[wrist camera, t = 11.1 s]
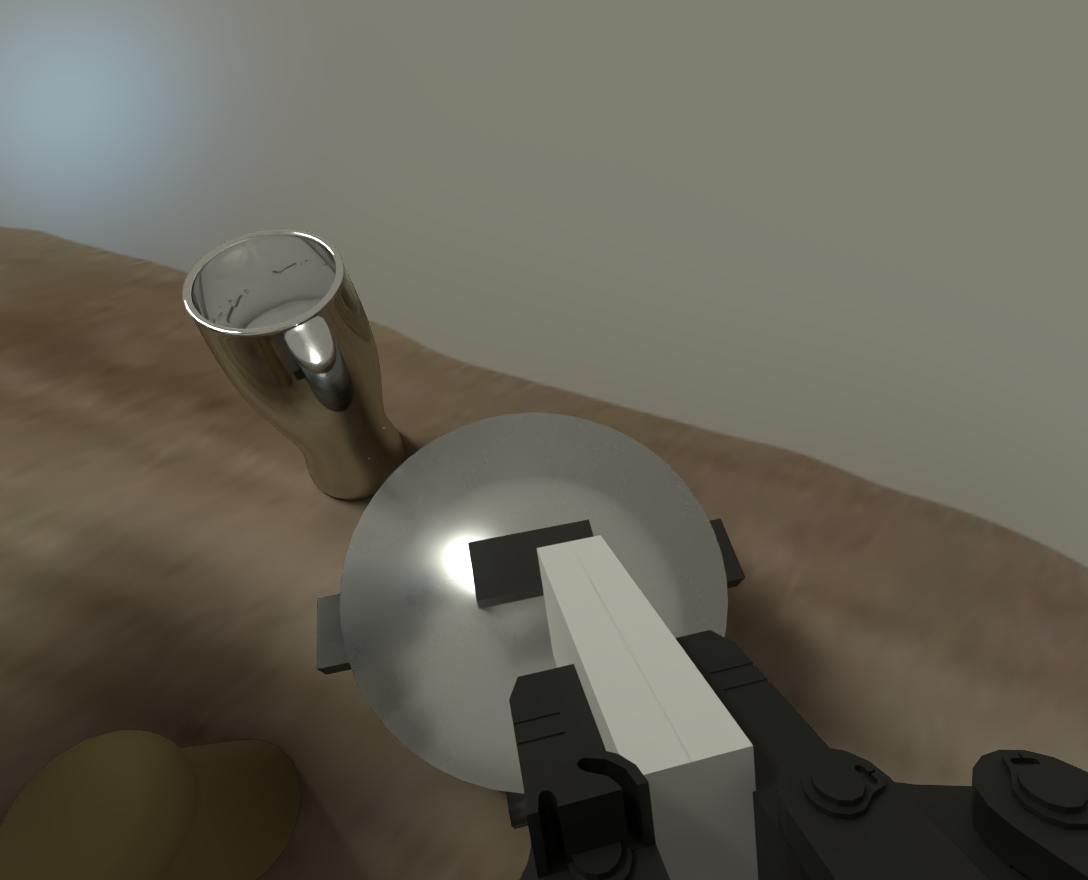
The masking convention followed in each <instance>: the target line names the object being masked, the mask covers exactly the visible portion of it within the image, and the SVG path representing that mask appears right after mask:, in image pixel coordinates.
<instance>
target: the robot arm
mask: <svg viewBox="0 0 1088 880" xmlns="http://www.w3.org/2000/svg"><path fill="white" fill-rule="evenodd" d="M537 554H538V560H539V566H540V573H541V579H542V586H543V592H544V599H545V605H546V612H547V618H548V625H549V631H550V638H551V644H552V650H553V655H554V659H555V662H556V665H557V668H554V669H550V670H545V671H541V672H537V673H532V674H528V675H524V676H520V677H517V680H516V683H515V685H514V688H513V691H512V693H511V696H510V698H509V702H510V708H511V714H512V720H513V726H514V733H515V739H516V745H517V751H518V757H519V763H520V769H521V775H522V781H523V787H524V793H525V799H526V805H527V821H528V826H529V832H530V837H531V850H530V855H529V859H528V863H527V866H526V868H525V870H524V872H523V874H522V876H521V878H520V880H1088V772H1086V771H1084V770H1082V769H1079V768H1077V767H1075V766H1072V765H1070V764H1068V763H1066V762H1063V761H1061V760H1059V759H1057V758H1054V757H1050V756H1046V755H1042V754H1038V753H1034V752H1030V751H1026V750H998V751H995V752H992V753H989V754H986V755H983V756H981V758H980V759H979V760H978V762H977V763H976V764H975V766H974V767H973V776H972V786H944V785H914V784H905V783H897V782H894V781H893V780H892V779H891V778H890V777H889V776H887V775H886V774H885V773H883V772H882V771H881V770H880V769H878V768H877V767H876V766H875V765H873V764H872V763H871V762H869V761H867V760H865V759H863V758H860V757H858V756H856V755H854V754H851V753H849V752H847V751H842V750H837V749H831V748H829V747H828V746H827V745H826V744H825V742H824V741H823V740H822V739H821V738H820V737H819V736H818V735H817V734H816V733H815V731H814V730H813V729H812V728H811V727H810V726H809V725H808V724H807V723H806V721H805V720H804V719H803V718H802V717H801V716H800V715H799V714H798V713H797V711H796V710H795V709H794V708H793V707H792V706H791V705H790V704H789V703H788V701H787V700H786V699H785V698H784V697H783V696H782V695H781V694H780V693H779V691H778V690H777V689H776V688H775V687H774V686H773V685H772V684H771V683H768V681H767V678H766V677H765V676H764V675H763V674H762V673H761V671H760V670H759V669H758V668H757V667H756V666H755V667H754V666H753V663H752V661H751V660H750V659H749V658H748V657H747V656H746V655H745V654H744V653H743V651H742V650H741V649H740V648H739V647H738V646H737V645H736V644H735V643H734V642H732V641H730V640H728V639H726V638H724V637H722V636H721V635H719V634H717V633H715V632H713V631H711V630H707V631H703V632H698V633H694V634H690V635H686V636H681V637H677V638H675V637H674V636H673V634H672V633H671V632H670V630H669V629H668V628H667V626H666V625H665V623H664V622H663V621H662V619H661V618H660V617H659V615H658V614H657V612H656V611H655V610H654V608H653V607H652V605H651V604H650V603H649V601H648V600H647V599H646V597H645V596H644V594H643V593H642V592H641V590H640V589H639V588H638V586H637V585H636V583H635V582H634V581H633V579H632V578H631V577H630V575H629V574H628V572H627V571H626V570H625V568H624V567H623V565H622V564H621V563H620V561H619V560H618V559H617V557H616V556H615V554H614V553H613V552H612V550H611V549H610V548H609V546H608V545H607V543H606V542H605V541H604V539H603V538H602V537H601V535H599V536H594V537H589V538H584V539H579V540H574V541H569V542H564V543H560V544H555V545H550V546H545V547H540V548H537Z"/></svg>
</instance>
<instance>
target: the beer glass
mask: <svg viewBox="0 0 1088 880" xmlns="http://www.w3.org/2000/svg"><path fill="white" fill-rule="evenodd" d="M182 299H183V304H184V307H185V309H186V311H187V313H188V314H189V315H190V317H191V318H192V319H193V321H194V322H195V324H196V326H197V327H198V329H199V331H200V333H201V335H202V336H203V338H204V340H205V342H206V344H207V345H208V347H209V349H210V350H211V352H212V354H213V355H214V357H215V359H216V361H217V362H218V364H219V365H220V367H221V368H222V370H223V371H224V373H225V374H226V375H227V377H228V378H229V380H230V381H231V383H232V384H233V385H234V386H235V388H236V389H237V390H238V391H239V393H240V394H241V395H242V396H243V398H244V399H245V400H246V401H247V402H248V403H249V404H250V405H251V406H252V407H253V408H254V409H255V410H256V411H257V412H258V413H259V414H260V415H261V416H262V417H263V418H264V419H265V420H267V421H268V422H269V423H270V424H271V425H272V426H274V427H275V428H276V429H277V430H278V431H280V432H281V433H282V434H283V435H284V436H286V437H287V438H288V439H289V440H290V441H291V442H293V443H294V444H295V445H296V446H297V447H298V448H299V449H300V451H301V452H302V454H303V455H304V458H305V461H306V465H307V468H308V471H309V474H310V477H311V479H312V480H313V482H314V484H315V485H316V486H317V487H318V488H319V489H320V490H321V491H323V492H324V493H326V494H327V495H329V496H332V497H335V498H338V499H345V500H354V499H361V498H365V497H369V496H371V495H374V494H375V493H376V492H377V491H378V490H379V488H380V487H381V486H382V485H383V484H384V482H385V481H386V480H387V479H388V477H389V476H390V475H391V474H392V473H393V472H394V471H395V470H396V469H397V468H398V467H399V466H400V465H402V464H403V463H404V458H405V448H404V443H403V440H402V438H401V436H400V434H399V432H398V431H397V429H396V428H395V427H394V425H393V424H392V423H391V422H390V420H389V419H388V418H387V416H386V414H385V411H384V405H383V395H382V382H381V371H380V363H379V357H378V351H377V346H376V343H375V339H374V336H373V333H372V329H371V326H370V323H369V320H368V318H367V316H366V313H365V310H364V308H363V305H362V303H361V301H360V299H359V296H358V294H357V292H356V290H355V287H354V285H353V283H352V281H351V279H350V277H349V275H348V273H347V271H346V268H345V266H344V264H343V260H342V257H341V255H340V253H339V252H338V250H337V249H336V248H335V247H334V246H333V245H332V244H331V243H330V242H329V241H327V240H325V239H324V238H322V237H320V236H318V235H316V234H313V233H310V232H307V231H302V230H297V229H267V230H260V231H255V232H251V233H247V234H244V235H241V236H238V237H236V238H233V239H230V240H228V241H226V242H224V243H222V244H220V245H219V246H217V247H215V248H214V249H212V250H211V251H209V252H208V253H207V254H205V255H204V256H203V257H202V258H201V259H200V260H199V261H198V262H197V263H196V264H195V265H194V266H193V267H192V269H191V270H190V272H189V273H188V275H187V277H186V279H185V282H184V285H183V290H182Z"/></svg>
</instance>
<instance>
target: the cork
mask: <svg viewBox="0 0 1088 880" xmlns="http://www.w3.org/2000/svg"><path fill="white" fill-rule="evenodd" d="M300 803H301V802H300V783H299V778H298V775H297V772H296V770H295V767H294V765H293V762H292V760H291V759H290V758H289V757H288V756H287V755H286V754H285V753H284V752H283V751H282V750H281V749H280V747H278V746H275V745H273V744H271V743H268V742H266V741H264V740H236V741H228V742H221V743H213V744H206V745H198V746H191V747H183V748H179V747H178V746H177V745H176V744H175V743H174V742H173V741H171V740H169V739H167V738H165V737H163V736H160V735H158V734H156V733H154V732H149V731H142V730H118V731H114V732H110V733H106V734H103V735H99V736H96V737H93V738H89V739H86V740H83V741H81V742H80V743H78V744H76V745H75V746H73V747H71V748H69V749H68V750H66V751H64V752H63V753H61V754H59V755H58V756H57V757H55V758H54V759H53V760H52V761H51V762H50V763H48V764H47V765H46V766H45V767H44V768H43V769H42V770H41V771H40V772H39V773H38V774H36V775H35V776H34V777H33V778H32V779H31V780H30V781H29V782H28V783H27V785H26V786H25V787H24V789H23V790H22V791H21V793H20V794H19V796H18V797H17V798H16V800H15V801H14V802H13V804H12V805H11V806H10V809H9V811H8V813H7V815H6V817H5V820H4V822H3V824H2V826H1V828H0V880H256V879H258V878H259V877H260V876H262V875H263V874H264V873H266V872H267V871H268V869H269V868H270V867H271V866H272V864H273V863H274V862H275V861H276V860H277V858H278V857H279V856H280V855H281V853H282V852H283V851H284V849H285V847H286V845H287V843H288V841H289V839H290V837H291V835H292V833H293V830H294V828H295V826H296V821H297V816H298V812H299V807H300Z"/></svg>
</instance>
